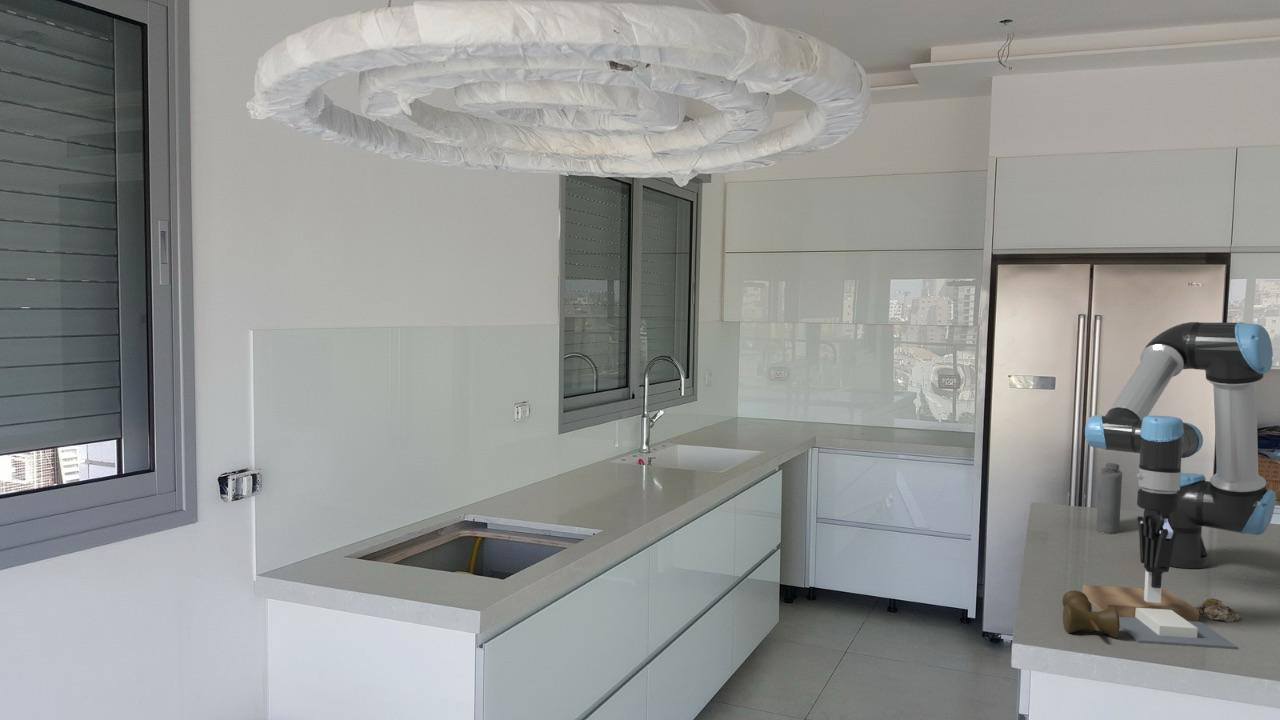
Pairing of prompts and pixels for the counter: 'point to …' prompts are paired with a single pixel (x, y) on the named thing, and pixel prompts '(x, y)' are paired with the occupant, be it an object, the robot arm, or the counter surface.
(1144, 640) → the mat
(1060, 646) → the counter surface
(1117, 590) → the tan wooden board
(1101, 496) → the flask
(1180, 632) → the stone tile
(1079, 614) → the kendama
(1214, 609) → the mineral rock
